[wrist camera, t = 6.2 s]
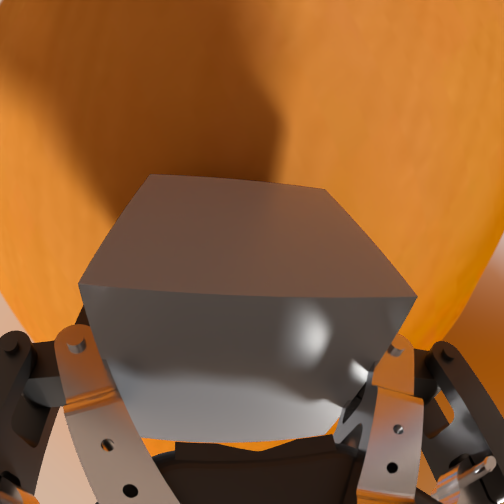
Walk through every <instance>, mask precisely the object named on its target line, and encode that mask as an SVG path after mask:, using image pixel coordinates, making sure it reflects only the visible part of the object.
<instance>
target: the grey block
mask: <svg viewBox="0 0 504 504" xmlns="http://www.w3.org/2000/svg"><path fill="white" fill-rule="evenodd" d="M78 285H79V289H80V293H81V297H82V301H83V304H84V308H85V311H86V315H87V318H88V321H89V324H90V328H91V331H92V334H93V337H94V340H95V343H96V345H97V348H98V351H99V354H100V357H101V359H106V360H107V363H108V366H109V368H110V371H111V374H112V376H113V379H114V381H115V384H116V386H117V388H118V390H119V393H120V395H121V397H122V400H123V402H124V404H125V406H126V409H127V411H128V413H129V415H130V417H131V419H132V421H133V423H134V425H135V428H136V430H137V432H138V433H139V435H140V437H143V438H151V439H161V440H172V441H187V442H258V441H273V440H285V439H295V438H303V437H311V436H318V435H324V434H326V433H327V431H328V430H329V429H330V428H331V427H332V425H333V424H334V423H335V422H336V420H337V419H338V418H339V417H340V415H341V411H342V408H343V406H344V405H345V404H346V402H347V401H348V400H353V399H354V397H355V396H356V395H357V393H358V392H359V391H360V389H361V388H362V386H363V385H364V384H365V382H366V381H367V375H368V371H369V369H370V368H371V366H372V365H373V363H374V362H375V361H378V360H381V359H382V357H383V355H384V354H385V352H386V351H387V349H388V348H389V346H390V344H391V343H392V341H393V339H394V338H395V336H396V334H397V333H398V331H399V329H400V328H401V326H402V324H403V322H404V321H405V319H406V317H407V315H408V313H409V312H410V310H411V308H412V306H413V304H414V302H415V300H416V298H417V297H418V296H417V295H416V294H415V292H414V291H413V290H412V289H411V287H410V286H409V285H408V283H407V282H406V281H405V280H404V278H403V277H402V276H401V275H400V273H399V272H398V271H397V270H396V268H395V267H394V266H393V265H392V264H391V262H390V261H389V260H388V259H387V258H386V256H385V255H384V254H383V253H382V252H381V250H380V249H379V248H378V247H377V246H376V245H375V243H374V242H373V241H372V240H371V239H370V238H369V237H368V235H367V234H366V233H365V232H364V231H363V230H362V229H361V227H360V226H359V225H358V224H357V223H356V222H355V221H354V220H353V219H352V218H351V216H350V215H349V214H348V213H347V212H346V211H345V210H344V209H343V208H342V207H341V206H340V205H339V204H338V202H337V201H336V200H335V199H334V198H333V197H332V196H331V195H330V194H329V193H328V192H327V191H326V190H325V189H319V188H312V187H304V186H296V185H288V184H279V183H270V182H261V181H251V180H240V179H228V178H215V177H201V176H184V175H163V174H150V175H149V176H148V178H147V179H146V180H145V182H144V183H143V184H142V186H141V187H140V188H139V190H138V191H137V192H136V194H135V195H134V197H133V198H132V199H131V201H130V202H129V204H128V205H127V206H126V208H125V209H124V211H123V212H122V214H121V215H120V217H119V218H118V220H117V221H116V223H115V224H114V226H113V227H112V229H111V230H110V232H109V233H108V235H107V236H106V238H105V239H104V241H103V242H102V244H101V246H100V247H99V249H98V250H97V252H96V254H95V255H94V257H93V259H92V260H91V262H90V264H89V265H88V267H87V269H86V271H85V272H84V274H83V276H82V278H81V279H80V281H79V283H78Z"/></svg>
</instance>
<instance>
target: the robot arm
mask: <svg viewBox="0 0 504 504" xmlns="http://www.w3.org/2000/svg"><path fill="white" fill-rule="evenodd" d="M441 390H442V391H443V393H444V395H445V397H446V398H447V400H448V401H449V403H450V405H451V407H452V408H453V410H454V415H455V417H454V420H453V422H452V423H451V424H449V423H448V421H447V419H446V418H445V416H444V414H443V412H442V411H441V409H440V407H439V405H438V403H437V402H436V400H435V398H434V397H435V396H436V395H437V394H438V393H439V392H440V391H441ZM60 406H63V409H64V414H65V418H66V421H67V425H68V428H69V431H70V434H71V437H72V440H73V443H74V446H75V449H76V452H77V454H78V457H79V459H80V462H81V464H82V467H83V469H84V472H85V475H86V477H87V479H88V482H89V484H90V486H91V488H92V490H93V492H94V495H95V496H96V499H97V501H98V502H96V504H500V503H502V502H504V419H503V417H502V415H501V414H500V412H499V411H498V409H497V407H496V406H495V404H494V402H493V401H492V399H491V398H490V396H489V394H488V393H487V391H486V390H485V389H484V387H483V385H482V384H481V382H480V381H479V379H478V378H477V377H476V375H475V373H474V372H473V371H472V369H471V368H470V366H469V365H468V363H467V362H466V361H465V359H464V358H463V356H462V355H461V354H460V352H459V351H458V350H457V349H456V348H455V347H454V346H453V345H451V344H450V343H448V342H444V341H439V342H436V343H435V344H434V345H433V347H432V348H431V349H430V351H425V350H419V349H413V346H412V344H411V343H410V342H409V341H408V339H406V338H405V337H404V336H402V335H400V334H398V333H397V334H396V336H395V338H394V339H393V341H392V343H391V344H390V346H389V348H388V349H387V351H386V352H385V354H384V355H383V357H382V359H381V360H378V361H375V362H374V363H373V365H372V366H371V368H370V369H369V371H368V375H367V381H366V382H365V384H364V385H363V386H362V388H361V389H360V391H359V392H358V393H357V395H356V396H355V397H354V399H353V400H348V401H347V402H346V404H345V405H344V406H343V408H342V411H341V415H340V418H339V422H338V425H337V428H336V431H335V433H334V435H332V434H330V435H324V436H318V437H311V438H303V439H296V440H294V441H291V442H288V443H285V444H282V445H279V446H276V447H273V448H270V449H267V450H264V451H250V450H245V449H239V448H234V447H229V446H225V445H220V444H214V443H186V442H175V451H170V452H165V453H162V454H158V455H156V456H153V457H151V456H150V454H149V452H148V451H147V449H146V447H145V445H144V443H143V441H142V439H141V437H140V435H139V433H138V432H137V430H136V428H135V425H134V423H133V421H132V419H131V417H130V415H129V413H128V411H127V409H126V406H125V404H124V402H123V400H122V397H121V395H120V393H119V390H118V388H117V386H116V384H115V381H114V379H113V376H112V374H111V371H110V368H109V366H108V363H107V360H106V359H101V357H100V354H99V351H98V348H97V345H96V343H95V340H94V337H93V334H92V331H91V328H90V324H89V321H88V318H87V315H86V311H85V308H84V305H83V307H82V309H81V312H80V314H79V316H78V318H77V320H76V323H75V325H71V326H68V327H66V328H64V329H63V330H62V331H61V332H59V334H58V335H57V337H56V339H55V340H54V341H48V342H39V343H32V342H31V340H30V338H29V337H28V335H27V334H26V333H24V332H22V331H11V332H8V333H6V334H4V335H3V336H2V337H1V338H0V504H39V502H38V500H37V499H36V498H35V497H34V493H35V489H36V484H37V480H38V476H39V472H40V468H41V464H42V461H43V457H44V453H45V450H46V447H47V443H48V440H49V437H50V434H51V431H52V427H53V425H54V422H55V418H56V416H57V413H58V410H59V408H60ZM421 450H422V452H423V454H424V456H425V458H426V460H427V462H428V464H429V466H430V469H431V471H432V473H433V475H434V478H435V480H436V482H437V487H436V488H435V489H433V490H432V493H431V496H430V495H428V494H426V493H425V492H423V491H422V490H420V489H418V488H417V487H416V484H417V478H418V471H419V463H420V455H421ZM438 500H439V501H438Z"/></svg>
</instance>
